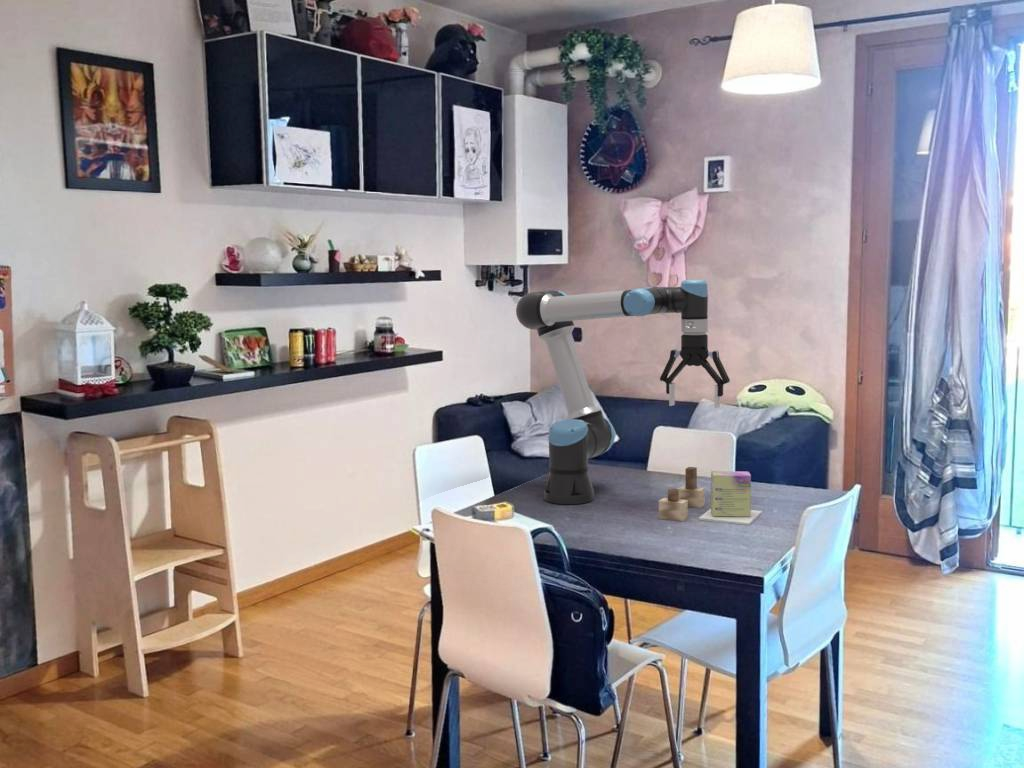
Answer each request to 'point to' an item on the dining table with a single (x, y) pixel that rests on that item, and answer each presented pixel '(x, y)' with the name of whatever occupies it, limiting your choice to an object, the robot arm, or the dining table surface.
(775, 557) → the dining table surface
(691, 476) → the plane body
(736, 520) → the pad
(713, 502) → the box
